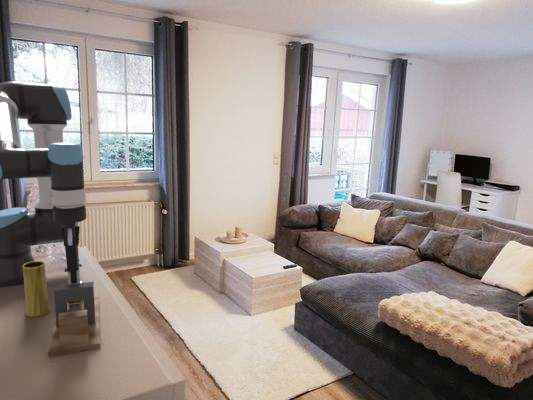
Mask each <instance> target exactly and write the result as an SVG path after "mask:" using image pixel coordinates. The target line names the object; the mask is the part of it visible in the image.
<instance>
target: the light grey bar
mask: <svg viewBox="0 0 533 400" xmlns="http://www.w3.org/2000/svg"><path fill="white" fill-rule="evenodd" d="M80 283H83V280H80ZM80 310H82V300H81V301H74V302H69V310H68V312H73V311H80Z"/></svg>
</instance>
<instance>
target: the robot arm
mask: <svg viewBox="0 0 533 400" xmlns="http://www.w3.org/2000/svg"><path fill="white" fill-rule="evenodd" d="M69 98H70V97H69V95H68V91H67V90H66V88H65V87H64V86H63V85H61V84H54V83H49V82H48V83H43V82H42V83H41V82H29V81H28V82H26V81H15V80H12V81H5V82H0V180H12V179H13V180H14V179H31V178H32V179H33V178H37V187H38V190H37V191H38V198H39V199H38V202H37V203H36V204H35V205H34V211H29V210H28V208H27V207H23V206H21V207H18V206H17V207H12V208H5V209H2V210H1V209H0V287H6V286H7V287H8V286H14V285H20V284H24V277H23V268H22V266H23V265H24V264H25V263H28V262H33V261H36V260H35V258H34V256H33V254H32V246H40V245H49V244H56V243H61V244H62V243H63V246H64V250H65V259H66V260H65V261H66V268H64V273H67V281H68V284H67V285H69V284H78V283H80V281H81V276H80V275H81V274H80V272H81V271H80V270H81V269H80V268H81V267H83V263H80V256H79V245H80V230H81V228H80V225H79V223H80V222H83V221H85V220H86V219H87V206H86V205H85V204H86V198H87V197H86V187H85V177H84V176H85V175H84V174H85V173H84V158H85V157H84V154H83V147H82V145H81V144H80V143H77V142H64V135H63V130H64V129H66V127H67V126H68V121H70V120H72V107H71V103H70V99H69ZM17 119H19V120H27V126H29V127H30V128H31V129H32V130H33V139H34V148H21V147H20V141H19V140H20V139H19V132H18V126H17Z"/></svg>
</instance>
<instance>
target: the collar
mask: <svg viewBox="0 0 533 400" xmlns="http://www.w3.org/2000/svg"><path fill="white" fill-rule="evenodd" d="M94 291H95V289H94V281H87V282H82V283H78V284H69V285H68V284H63V285H55V286H54V288H53V299H54V300H53V301H54V313H55V315H56V327H57V328H59V324H58V317H59V313H66V312H68V311H67V302H74V301H81V300H83V304H84V310H87V317H88V323H91V322H95V305H94V298H95V293H94Z"/></svg>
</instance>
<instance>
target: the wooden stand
mask: <svg viewBox="0 0 533 400" xmlns="http://www.w3.org/2000/svg"><path fill="white" fill-rule="evenodd" d="M94 305H95V322H91V323H88V317H87V310H84V304H83V300H82V310H80V311H73V312H66V313H59V317H58V324H59V328H57V327H56V315H55V316H54V320H53V325H52V331H51V336H50V342H49V347H48V353H47V354H48V358H51V357H56V356H61V355H63V356H64V355H68V354H73V353H80V352H85V351H90V350H95V349H96V350H97V349H101V328H100V323H101V322H100V321H101V320H100V297H99V296H98V297H97V296H94ZM68 310H69V302H67V311H68Z"/></svg>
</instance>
